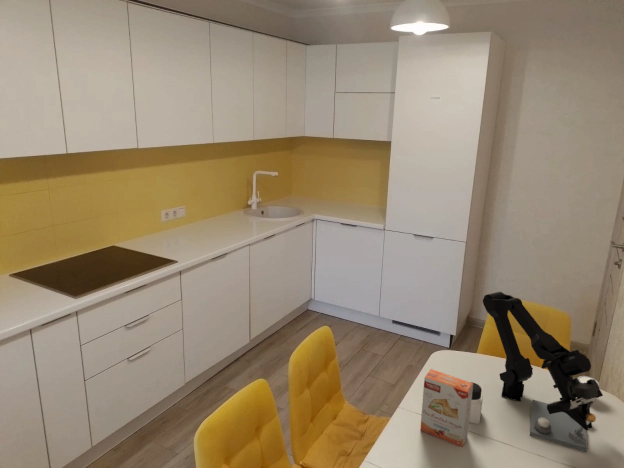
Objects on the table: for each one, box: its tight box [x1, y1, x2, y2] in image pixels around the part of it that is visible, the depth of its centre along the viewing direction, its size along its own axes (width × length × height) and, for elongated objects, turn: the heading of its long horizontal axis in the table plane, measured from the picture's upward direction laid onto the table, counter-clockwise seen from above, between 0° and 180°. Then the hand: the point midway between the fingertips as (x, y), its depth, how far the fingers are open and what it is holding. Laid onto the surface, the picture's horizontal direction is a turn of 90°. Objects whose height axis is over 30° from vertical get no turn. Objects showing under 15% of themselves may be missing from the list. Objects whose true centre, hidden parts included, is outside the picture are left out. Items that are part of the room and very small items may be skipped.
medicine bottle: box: [469, 381, 484, 425], centre depth 154 cm, size 7×7×12 cm
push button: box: [538, 418, 549, 428], centre depth 147 cm, size 3×3×1 cm
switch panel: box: [529, 399, 588, 453], centre depth 150 cm, size 16×18×3 cm
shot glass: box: [577, 375, 600, 402], centre depth 164 cm, size 7×7×7 cm
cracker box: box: [420, 368, 474, 448], centre depth 145 cm, size 14×6×21 cm, turn 56°
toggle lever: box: [575, 412, 597, 435], centre depth 140 cm, size 3×3×10 cm
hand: (588, 429), depth 139 cm, fingers closed on toggle lever
